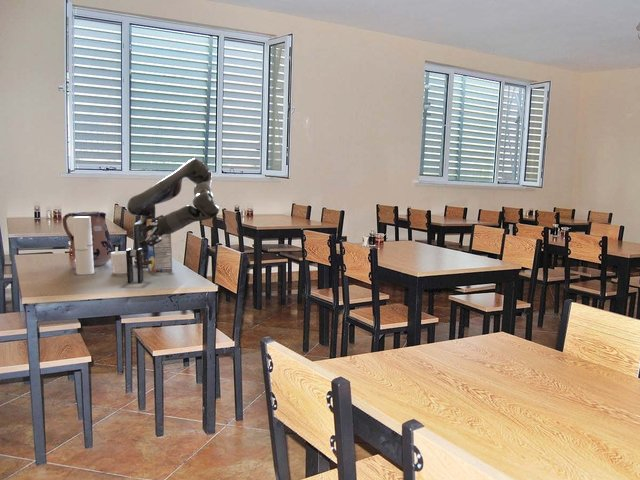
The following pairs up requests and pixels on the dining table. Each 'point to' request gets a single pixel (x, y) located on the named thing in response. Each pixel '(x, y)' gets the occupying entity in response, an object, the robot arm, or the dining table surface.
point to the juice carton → (160, 253)
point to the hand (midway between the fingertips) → (142, 237)
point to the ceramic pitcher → (94, 236)
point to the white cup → (119, 262)
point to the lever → (133, 254)
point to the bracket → (130, 266)
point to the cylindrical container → (83, 245)
